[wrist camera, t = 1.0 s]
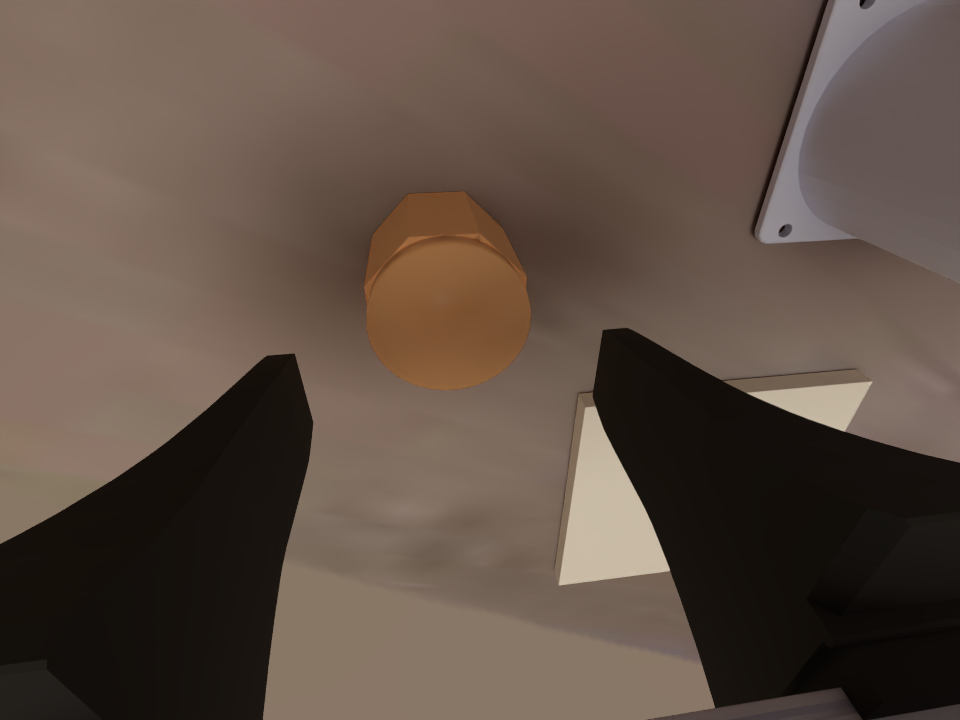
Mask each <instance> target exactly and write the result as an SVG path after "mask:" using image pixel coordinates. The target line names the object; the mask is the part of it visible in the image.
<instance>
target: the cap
mask: <svg viewBox="0 0 960 720" xmlns="http://www.w3.org/2000/svg"><path fill="white" fill-rule="evenodd" d="M526 282H527V276H526V274H525V272H524V270H523V268H522V266H521V264H520V262H519V260H518V258H517V256H516V254H515V252H514V250H513V248H512V246H511V244H510V242H509V240H508V238H507V236H506V234H505V232H504V230H503V228H502V227H501V226H500V225H499V224H498V223H497V222H496V221H495V220H494V219H493V218H492V217H491V216H489V215H488V214H487V213H486V212H485V211H484V210H483V209H482V208H481V207H480V206H479V205H478V204H477V203H476V202H475V201H474V200H473V199H472V198H471V197H470V196H469V195H468V194H467V193H466V192H464V191H458V192H435V193H412V194H407V195H406V196H405V197H404V199H403V200H402V201H401V202H400V203H399V204H398V206H397V207H396V208H395V209H394V210H393V211H392V213H391V214H390V215H389V216H388V217H387V218H386V220H385V221H384V222H383V223H382V224H381V225H380V227H379V228H378V229H377V230H376V231H375V232H374V234H373V235H372V240H371V247H370V253H369V259H368V265H367V271H366V277H365V283H364V289H365V296H366V302H367V317H366V324H367V333H368V337H369V341H370V343H371V346H372V348H373V350H374V352H375V353H376V355H377V357H378V358H379V359H380V361H381V362H382V363H383V364H384V365H385V366H386V367H387V368H388V369H389V370H390V371H391V372H392V373H394V374H395V375H396V376H398V377H400V378H401V379H403V380H405V381H407V382H409V383H411V384H414V385H417V386H420V387H423V388H428V389H434V390H457V389H464V388H468V387H472V386H475V385H478V384H481V383H483V382H485V381H487V380H489V379H491V378H493V377H494V376H496V375H498V374H499V373H500V372H502V371H503V370H504V369H505V368H507V367H508V366H509V365H510V364H511V363H512V362H513V361H514V359H515V358H516V357H517V355H518V354H519V353H520V351H521V349H522V348H523V346H524V344H525V341H526V339H527V337H528V333H529V329H530V323H531V308H530V302H529V298H528V295H527V292H526Z"/></svg>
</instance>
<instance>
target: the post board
mask: <svg viewBox="0 0 960 720" xmlns="http://www.w3.org/2000/svg"><path fill="white" fill-rule="evenodd" d="M724 382H726V383H727V384H729V385H731V386H733V387H735V388H737V389H739V390H741V391H743V392H745V393H748V394H750V395H752V396H754V397H756V398H758V399H761V400H763V401H765V402H768V403H770V404H772V405H775V406H777V407H779V408H782V409H784V410H786V411H789V412H791V413H794V414H797V415H799V416H802V417H804V418H807V419H810V420H812V421H815V422H818V423H821V424H824V425H827V426H830V427H832V428H835V429H838V430H841V431H844V432H845V430H846V428H847V426H848V425H849V423H850V421H851V419H852V417H853V416H854V414H855V412H856V410H857V409H858V407H859V405H860V403H861V401H862V400H863V398H864V396H865V394H866V393H867V391H868V389H869V387H870V386H871V384H872V382H873V381H872V380H870V379H869V378H868V377H866V376H865V375H864V374H862V373H861V372H860V371H858V370H857V369H853V370H842V371H830V372H819V373H807V374H796V375H785V376H773V377H762V378H751V379H739V380H728V381H724ZM592 396H593V392H591V393H580V394H579V395H578V403H577V410H576V417H575V425H574V432H573V439H572V446H571V454H570V461H569V468H568V476H567V483H566V490H565V498H564V505H563V512H562V520H561V527H560V534H559V541H558V549H557V556H556V563H555V574H556V577H557V581H558V584H559V585H565V584H573V583H580V582H588V581H596V580H604V579H612V578H619V577H627V576H635V575H643V574H650V573H658V572H666V571H670V569H669V566H668V563H667V561H666V558H665V556H664V553H663V551H662V548H661V546H660V543H659V541H658V538H657V536H656V533H655V530H654V528H653V525H652V523H651V521H650V519H649V517H648V514H647V512H646V510H645V508H644V506H643V504H642V502H641V500H640V498H639V496H638V495H637V493H636V491H635V489H634V487H633V485H632V483H631V481H630V479H629V478H628V476H627V474H626V472H625V470H624V468H623V466H622V464H621V462H620V461H619V459H618V457H617V455H616V453H615V451H614V449H613V447H612V445H611V443H610V441H609V439H608V437H607V435H606V433H605V431H604V429H603V426H602V423H601V421H600V418H599V415H598V412H597V409H596V406H595V403H594V400H593V397H592Z"/></svg>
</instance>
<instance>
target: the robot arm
mask: <svg viewBox="0 0 960 720" xmlns="http://www.w3.org/2000/svg"><path fill="white" fill-rule="evenodd" d="M859 3H860V0H828V3H827V6H826V9H825V13H824V16H823V19H822V22H821V25H820V28H819V31H818V34H817V37H816V41H815V44H814V47H813V50H812V53H811V56H810V59H809V62H808V66H807V69H806V72H805V75H804V78H803V81H802V84H801V87H800V90H799V94H798V97H797V100H796V103H795V106H794V109H793V112H792V115H791V119H790V122H789V125H788V128H787V131H786V134H785V137H784V140H783V143H782V147H781V150H780V153H779V156H778V159H777V162H776V165H775V168H774V172H773V175H772V178H771V181H770V184H769V187H768V190H767V193H766V196H765V200H764V203H763V206H762V209H761V212H760V215H759V218H758V221H757V225H756V228H755V233H754V234H755V237H756V238H757V239H758V240H759V241H761V242H762V243H766V244H773V243H790V242H808V241H825V240H842V239H861V240H863V241H865V242H868V243H870V244H872V245H874V246H876V247H879V248H881V249H883V250H885V251H887V252H890V253H892V254H894V255H896V256H899V257H901V258H903V259H905V260H907V261H910V262H912V263H914V264H916V265H918V266H921V267H923V268H925V269H927V270H929V271H932V272H934V273H936V274H938V275H940V276H943V277H945V278H947V279H949V280H952V281H954V282H956V283H958V284H960V0H865V2H864V4H863V5H862V6H861V7H860V5H859ZM783 225H785V228H784V230H783V231H782V232H780V233H779V230H780V228H781V227H782V226H783ZM592 397H593V400H594V403H595V406H596V409H597V412H598V415H599V418H600V421H601V423H602V426H603V429H604V431H605V433H606V435H607V437H608V439H609V441H610V443H611V445H612V447H613V449H614V451H615V453H616V455H617V457H618V459H619V461H620V462H621V464H622V466H623V468H624V470H625V472H626V474H627V476H628V478H629V479H630V481H631V483H632V485H633V487H634V489H635V491H636V493H637V495H638V496H639V498H640V500H641V502H642V504H643V506H644V508H645V510H646V512H647V514H648V517H649V519H650V521H651V523H652V525H653V528H654V530H655V533H656V536H657V538H658V541H659V543H660V546H661V548H662V551H663V553H664V556H665V558H666V561H667V563H668V566H669V569H670V572H671V574H672V577H673V580H674V583H675V585H676V588H677V591H678V593H679V596H680V599H681V602H682V605H683V608H684V611H685V614H686V617H687V620H688V622H689V625H690V628H691V631H692V634H693V637H694V640H695V643H696V646H697V649H698V652H699V656H700V659H701V662H702V666H703V669H704V672H705V675H706V679H707V682H708V685H709V688H710V692H711V695H712V698H713V702H714V705H715V708H714V709H708V710H702V711H696V712H690V713H684V714H678V715H672V716H666V717H660V718H654V719H648V720H960V463H958V462H954V461H950V460H945V459H941V458H936V457H932V456H928V455H923V454H919V453H916V452H912V451H908V450H905V449H901V448H898V447H894V446H890V445H887V444H883V443H880V442H876V441H873V440H869V439H866V438H863V437H860V436H857V435H853V434H850V433H847V432H844V431H841V430H838V429H835V428H832V427H830V426H827V425H824V424H821V423H818V422H815V421H812V420H810V419H807V418H804V417H802V416H799V415H797V414H794V413H791V412H789V411H786V410H784V409H782V408H779V407H777V406H775V405H772V404H770V403H768V402H765V401H763V400H761V399H758V398H756V397H754V396H752V395H750V394H748V393H745V392H743V391H741V390H739V389H737V388H735V387H733V386H731V385H729V384H727V383H726V382H724V381H722V380H720V379H718V378H716V377H714V376H712V375H710V374H708V373H707V372H705V371H703V370H701V369H699V368H697V367H696V366H694V365H692V364H690V363H689V362H687V361H685V360H683V359H682V358H680V357H678V356H677V355H675V354H673V353H671V352H670V351H668V350H666V349H665V348H663V347H661V346H660V345H658V344H656V343H655V342H653V341H651V340H649V339H648V338H646V337H644V336H642V335H640V334H639V333H637V332H635V331H633V330H631V329H628V328H621V329H608V330H603V333H602V339H601V346H600V352H599V358H598V365H597V371H596V377H595V384H594V390H593V396H592ZM312 430H313V420H312V416H311V412H310V409H309V405H308V401H307V398H306V394H305V390H304V386H303V383H302V379H301V375H300V372H299V368H298V364H297V360H296V357H295V354H283V355H270V356H266V357H265V358H263V359H262V360H261V361H260V362H259V363H257V364H256V365H255V366H254V367H253V368H252V369H251V370H250V371H249V372H248V373H246V374H245V375H244V376H243V377H242V378H241V379H240V380H239V381H238V382H237V383H236V384H235V385H233V386H232V387H231V388H230V389H229V390H228V391H227V392H226V393H225V394H223V395H222V396H221V397H220V398H219V399H218V400H217V401H216V402H215V403H213V404H212V405H211V406H210V407H209V408H208V409H207V410H206V411H204V412H203V413H202V414H201V415H199V416H198V417H197V418H196V419H195V420H193V421H192V422H191V423H190V424H188V425H187V426H186V427H185V428H184V429H182V430H181V431H180V432H179V433H178V434H176V435H175V436H174V437H173V438H171V439H170V440H169V441H168V442H166V443H165V444H164V445H162V446H161V447H160V448H158V449H157V450H156V451H154V452H153V453H151V454H150V455H149V456H147V457H146V458H145V459H143V460H142V461H140V462H139V463H137V464H136V465H134V466H133V467H131V468H130V469H129V470H127V471H126V472H124V473H123V474H121V475H120V476H118V477H117V478H115V479H114V480H112V481H110V482H109V483H107V484H105V485H104V486H102V487H101V488H99V489H97V490H96V491H94V492H92V493H91V494H89V495H87V496H86V497H84V498H82V499H81V500H79V501H77V502H76V503H74V504H72V505H71V506H69V507H67V508H66V509H64V510H62V511H61V512H59V513H57V514H56V515H54V516H52V517H50V518H48V519H47V520H45V521H43V522H41V523H39V524H37V525H36V526H34V527H32V528H30V529H28V530H26V531H25V532H23V533H21V534H19V535H17V536H15V537H13V538H11V539H9V540H7V541H6V542H3V543H2V544H0V720H263V711H264V702H265V693H266V684H267V674H268V665H269V657H270V648H271V641H272V633H273V625H274V618H275V610H276V604H277V597H278V591H279V583H280V577H281V571H282V565H283V561H284V556H285V551H286V547H287V543H288V539H289V536H290V532H291V528H292V524H293V520H294V517H295V513H296V509H297V505H298V501H299V498H300V494H301V490H302V486H303V482H304V478H305V474H306V471H307V466H308V462H309V456H310V448H311V439H312Z"/></svg>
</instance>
